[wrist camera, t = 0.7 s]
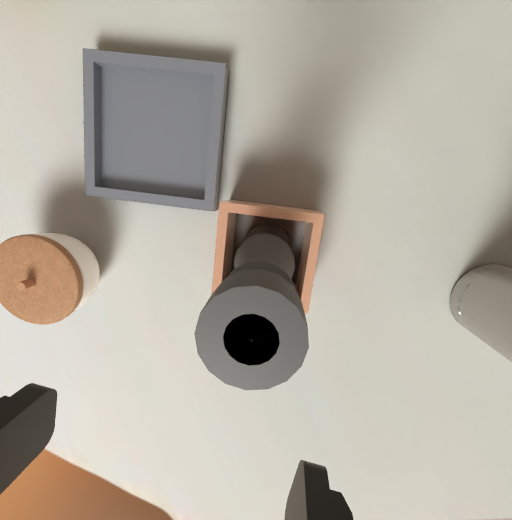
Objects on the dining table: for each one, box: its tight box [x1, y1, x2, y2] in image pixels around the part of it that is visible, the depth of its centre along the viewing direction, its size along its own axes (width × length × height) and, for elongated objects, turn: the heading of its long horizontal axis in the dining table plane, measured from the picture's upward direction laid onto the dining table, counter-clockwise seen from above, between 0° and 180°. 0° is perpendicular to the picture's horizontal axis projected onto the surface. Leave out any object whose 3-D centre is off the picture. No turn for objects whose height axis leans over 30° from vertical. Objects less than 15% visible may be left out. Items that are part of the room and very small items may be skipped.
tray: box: [83, 48, 229, 211], centre depth 36 cm, size 16×16×2 cm
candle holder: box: [195, 224, 309, 390], centre depth 27 cm, size 6×6×25 cm
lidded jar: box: [0, 233, 100, 324], centre depth 37 cm, size 11×11×9 cm
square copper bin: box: [212, 200, 325, 313], centre depth 36 cm, size 11×11×7 cm
